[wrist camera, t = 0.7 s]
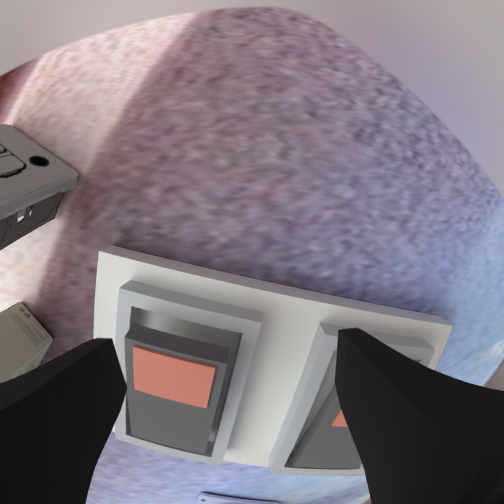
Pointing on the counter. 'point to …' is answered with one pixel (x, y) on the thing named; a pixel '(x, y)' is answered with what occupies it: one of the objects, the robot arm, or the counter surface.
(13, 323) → the skincare box
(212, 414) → the rocker
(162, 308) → the breaker panel
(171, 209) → the counter surface
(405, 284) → the counter surface
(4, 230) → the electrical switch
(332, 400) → the rocker
